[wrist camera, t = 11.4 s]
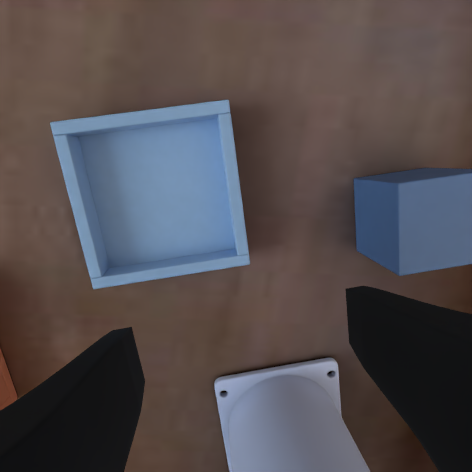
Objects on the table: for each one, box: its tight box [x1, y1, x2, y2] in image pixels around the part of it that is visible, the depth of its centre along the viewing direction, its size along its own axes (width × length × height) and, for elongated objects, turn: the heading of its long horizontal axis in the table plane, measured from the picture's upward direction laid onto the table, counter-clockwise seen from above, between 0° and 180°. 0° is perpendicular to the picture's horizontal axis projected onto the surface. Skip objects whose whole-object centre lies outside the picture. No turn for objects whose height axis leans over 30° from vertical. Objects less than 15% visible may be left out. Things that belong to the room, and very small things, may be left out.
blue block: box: [354, 168, 472, 276], centre depth 17 cm, size 4×4×4 cm
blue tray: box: [50, 100, 250, 289], centre depth 16 cm, size 8×8×2 cm
